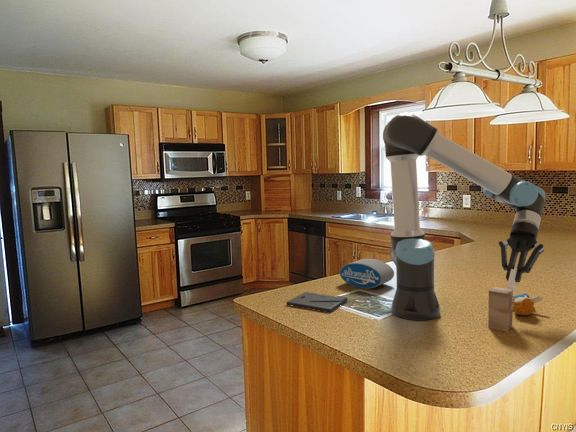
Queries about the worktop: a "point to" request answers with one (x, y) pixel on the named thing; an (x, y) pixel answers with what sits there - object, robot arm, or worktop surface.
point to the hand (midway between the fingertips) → (510, 289)
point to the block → (500, 308)
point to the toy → (524, 303)
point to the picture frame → (317, 301)
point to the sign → (366, 273)
